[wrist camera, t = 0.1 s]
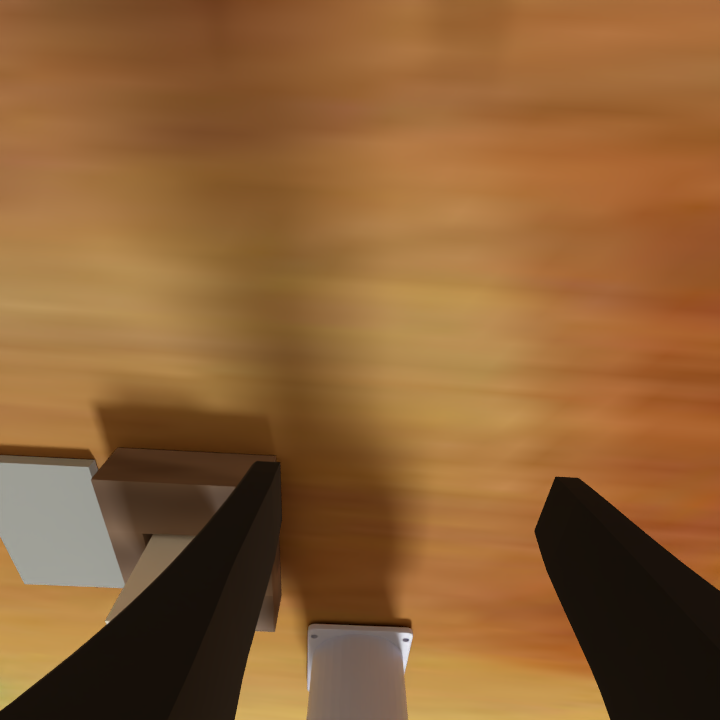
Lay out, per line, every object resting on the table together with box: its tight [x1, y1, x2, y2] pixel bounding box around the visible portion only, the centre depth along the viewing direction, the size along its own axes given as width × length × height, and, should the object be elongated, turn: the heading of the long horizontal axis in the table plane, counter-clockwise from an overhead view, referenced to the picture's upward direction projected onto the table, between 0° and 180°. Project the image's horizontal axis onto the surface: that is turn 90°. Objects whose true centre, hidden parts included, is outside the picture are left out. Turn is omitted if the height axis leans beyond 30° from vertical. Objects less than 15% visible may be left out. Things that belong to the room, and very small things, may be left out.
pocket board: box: [91, 448, 281, 632], centre depth 24 cm, size 13×9×2 cm
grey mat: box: [0, 455, 125, 588], centre depth 25 cm, size 11×7×1 cm, turn 176°
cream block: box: [105, 534, 195, 625], centre depth 22 cm, size 4×4×7 cm
